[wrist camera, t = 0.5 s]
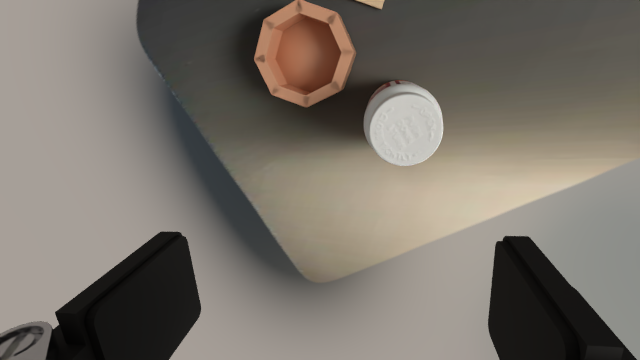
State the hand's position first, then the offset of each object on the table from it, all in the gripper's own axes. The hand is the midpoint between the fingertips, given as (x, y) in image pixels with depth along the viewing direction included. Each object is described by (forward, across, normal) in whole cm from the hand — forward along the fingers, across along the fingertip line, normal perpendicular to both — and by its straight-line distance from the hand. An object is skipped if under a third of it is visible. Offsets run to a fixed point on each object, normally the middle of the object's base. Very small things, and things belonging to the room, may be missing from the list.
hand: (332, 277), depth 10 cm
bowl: (+27, +5, -7) cm, 29 cm away
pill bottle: (+27, -3, -1) cm, 28 cm away
